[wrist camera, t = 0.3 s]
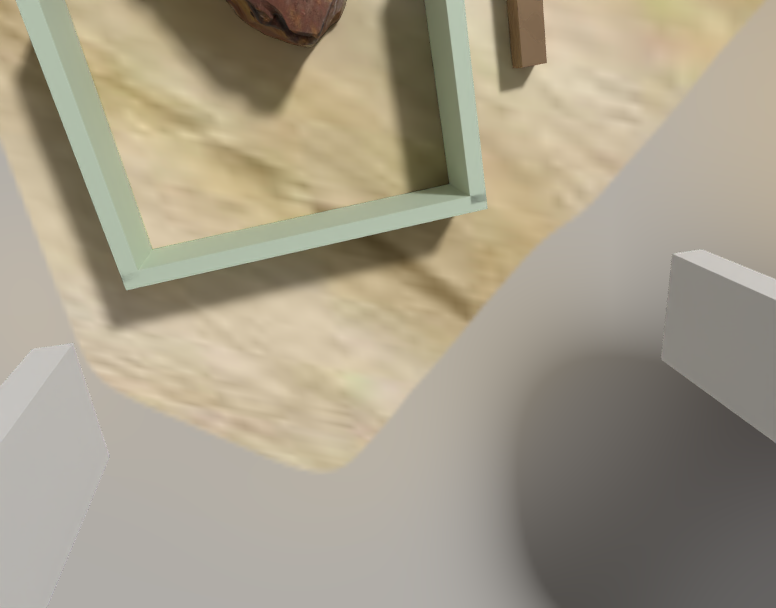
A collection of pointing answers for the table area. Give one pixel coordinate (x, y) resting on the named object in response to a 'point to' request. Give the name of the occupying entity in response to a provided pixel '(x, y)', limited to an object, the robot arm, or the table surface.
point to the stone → (290, 18)
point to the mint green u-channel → (151, 266)
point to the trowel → (526, 32)
